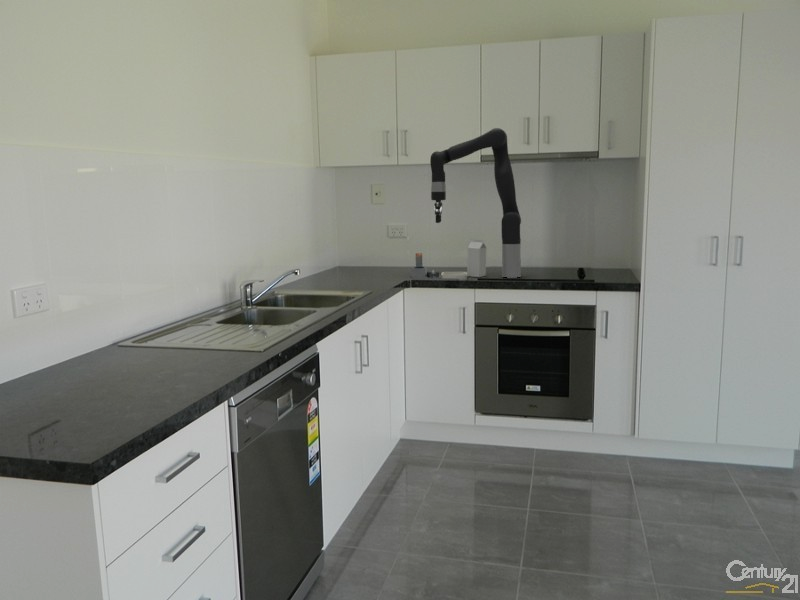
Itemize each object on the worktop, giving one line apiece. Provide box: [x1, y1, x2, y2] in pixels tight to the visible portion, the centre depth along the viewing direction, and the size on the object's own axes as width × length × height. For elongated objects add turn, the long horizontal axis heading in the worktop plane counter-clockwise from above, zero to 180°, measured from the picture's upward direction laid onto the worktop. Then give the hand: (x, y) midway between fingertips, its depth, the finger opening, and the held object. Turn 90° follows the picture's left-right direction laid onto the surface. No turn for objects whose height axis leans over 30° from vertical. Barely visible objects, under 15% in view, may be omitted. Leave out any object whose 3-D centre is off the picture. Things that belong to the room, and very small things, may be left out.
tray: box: [440, 271, 468, 282], centre depth 343 cm, size 13×12×3 cm
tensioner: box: [411, 266, 441, 279], centre depth 345 cm, size 14×10×6 cm
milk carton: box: [466, 239, 487, 278], centre depth 350 cm, size 7×7×19 cm
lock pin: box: [415, 252, 423, 268], centre depth 345 cm, size 3×3×12 cm
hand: (438, 222), depth 350 cm, fingers open, 8 cm apart
